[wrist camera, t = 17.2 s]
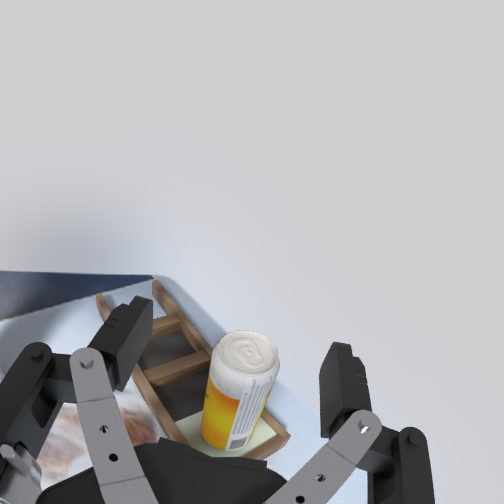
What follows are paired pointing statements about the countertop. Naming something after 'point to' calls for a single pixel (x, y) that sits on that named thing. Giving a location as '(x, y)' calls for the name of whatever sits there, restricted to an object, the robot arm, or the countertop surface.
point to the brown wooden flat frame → (187, 383)
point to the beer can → (238, 388)
